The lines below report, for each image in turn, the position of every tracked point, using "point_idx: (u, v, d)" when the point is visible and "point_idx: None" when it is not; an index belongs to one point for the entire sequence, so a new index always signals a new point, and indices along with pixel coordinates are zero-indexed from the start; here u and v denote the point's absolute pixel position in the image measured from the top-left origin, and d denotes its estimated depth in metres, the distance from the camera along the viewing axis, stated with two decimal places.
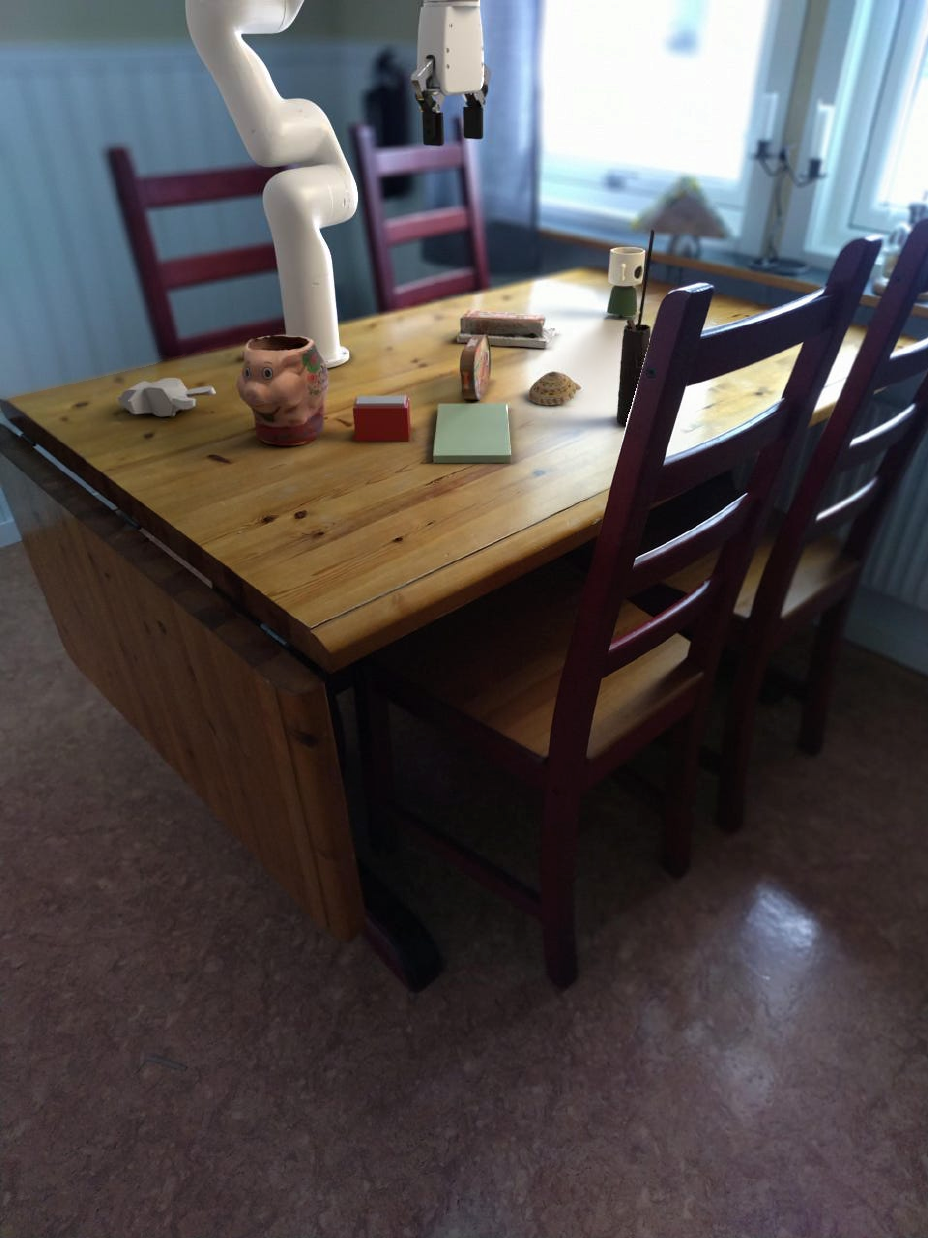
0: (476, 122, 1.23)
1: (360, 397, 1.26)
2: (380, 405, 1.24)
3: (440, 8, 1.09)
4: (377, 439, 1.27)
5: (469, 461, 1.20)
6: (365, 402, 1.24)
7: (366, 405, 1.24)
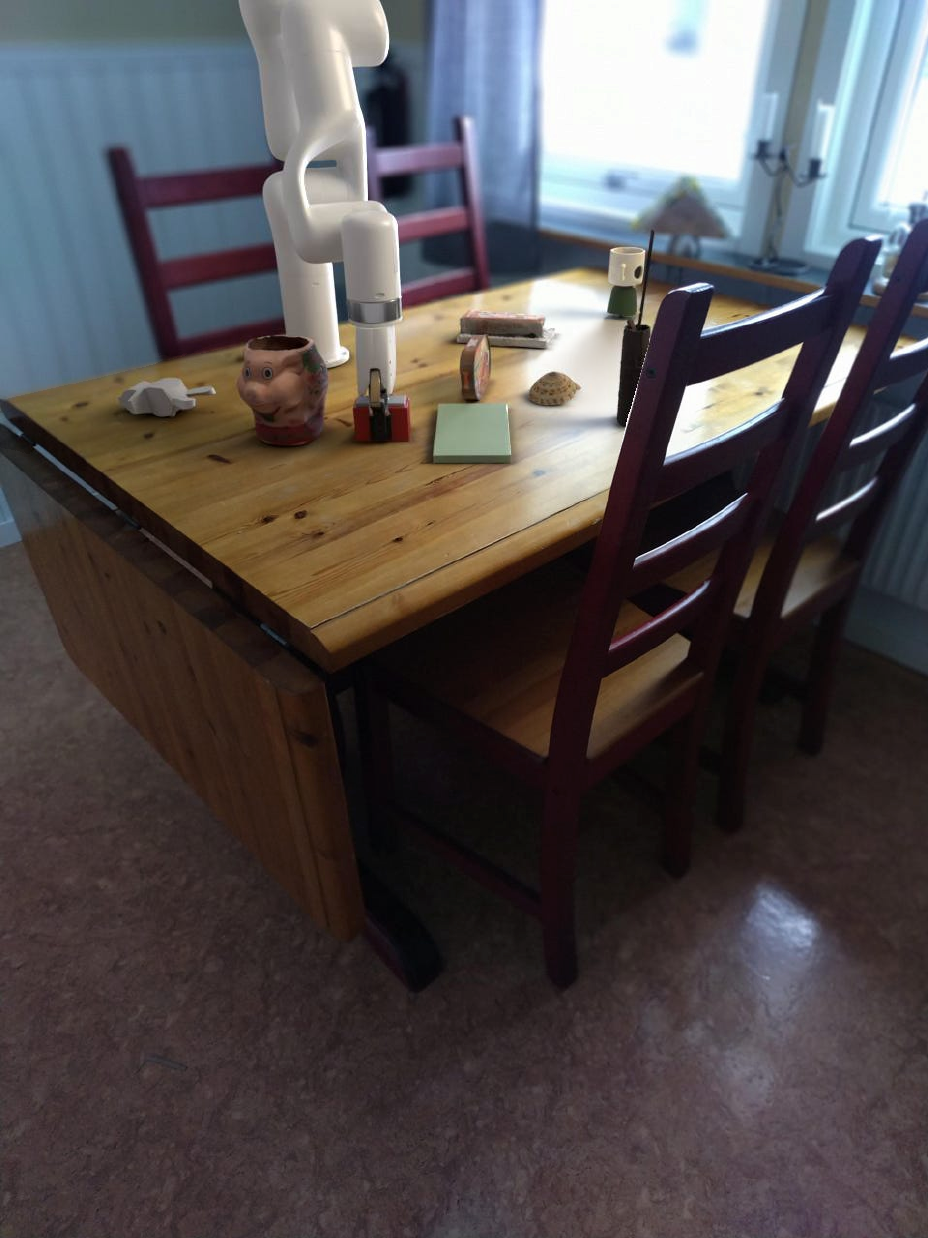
0: None
1: (360, 397, 1.26)
2: None
3: (381, 330, 1.16)
4: None
5: (469, 461, 1.20)
6: (365, 402, 1.24)
7: (366, 405, 1.24)
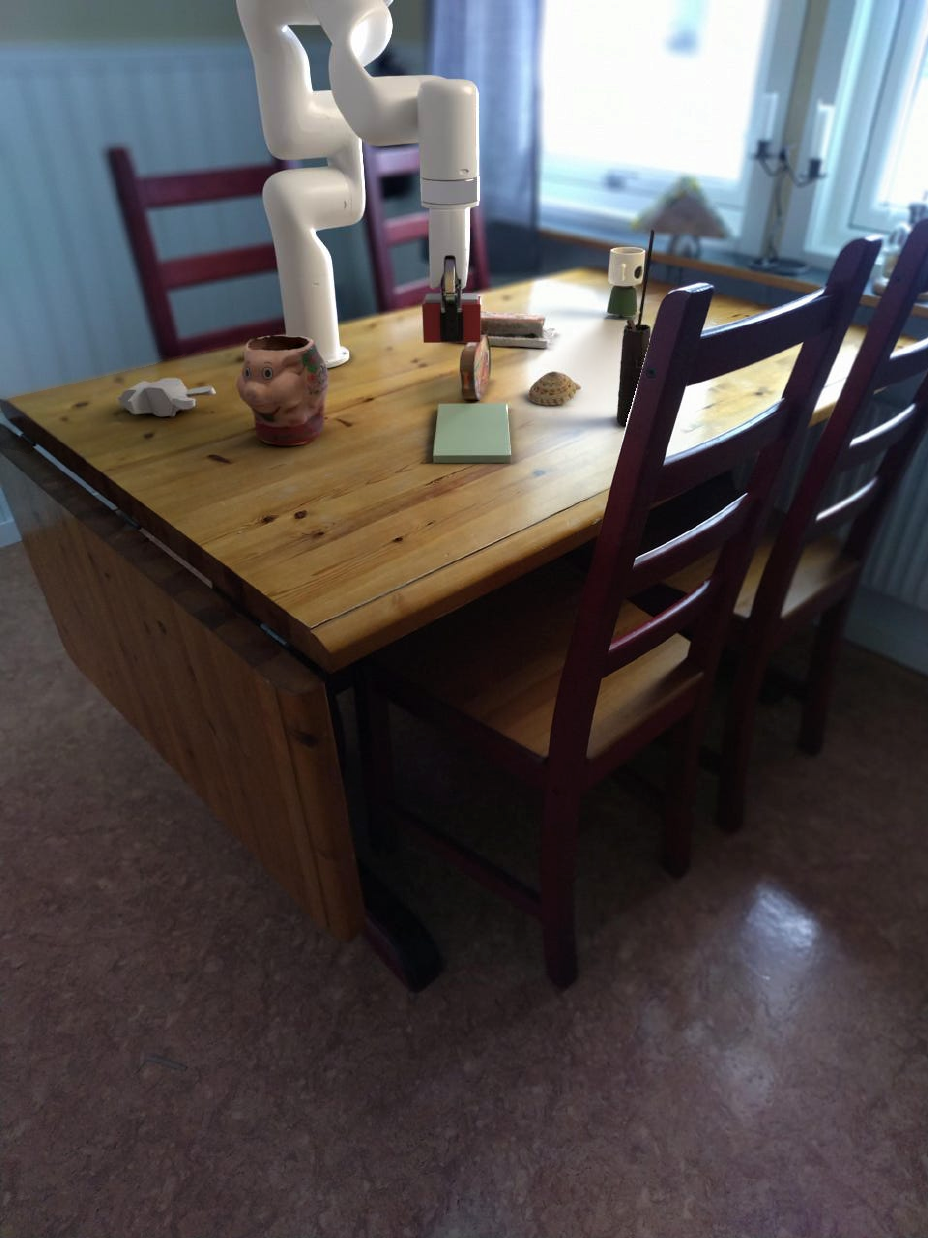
0: None
1: (429, 294, 1.18)
2: None
3: (458, 211, 1.07)
4: None
5: (469, 461, 1.20)
6: (436, 299, 1.16)
7: (436, 301, 1.16)
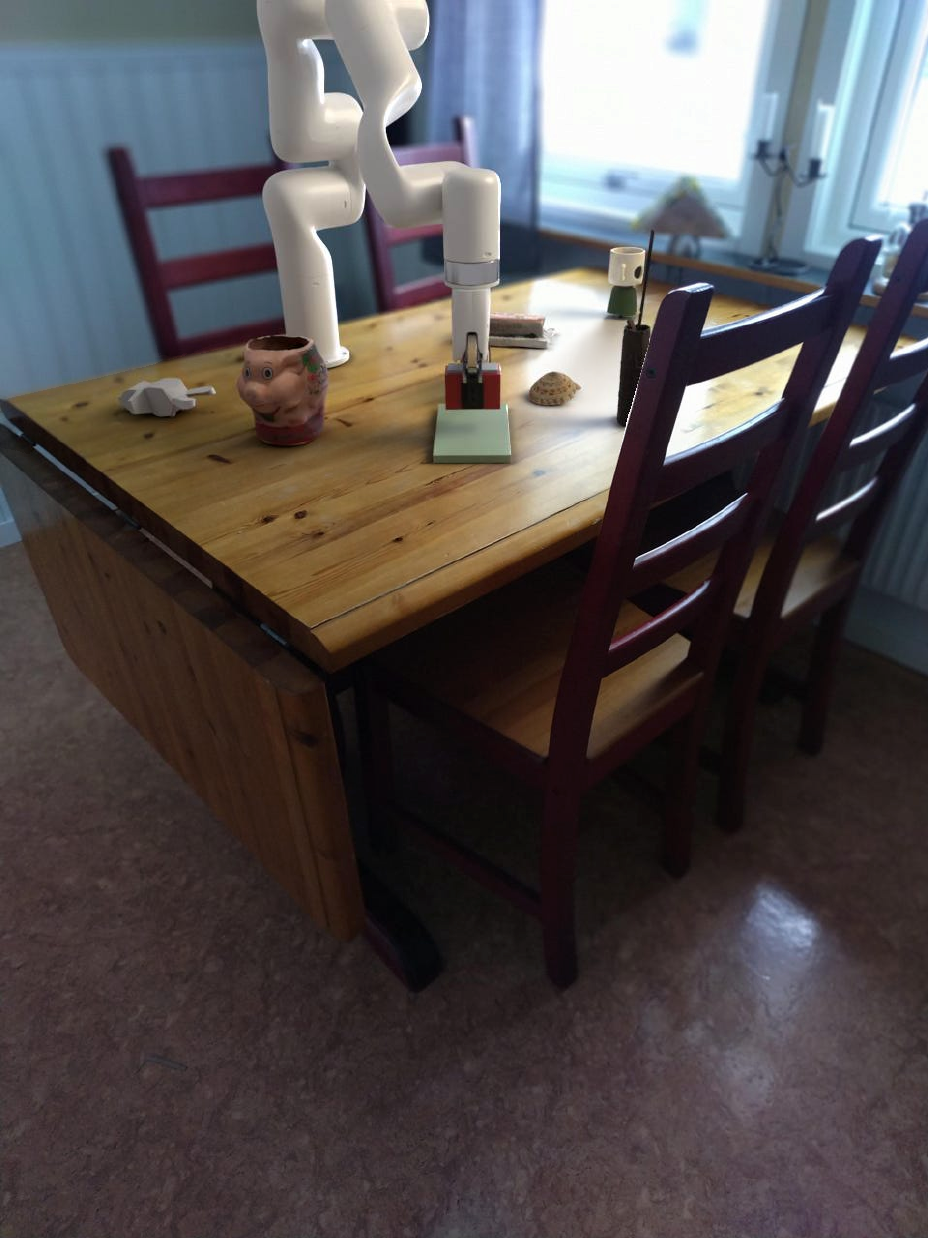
0: None
1: (451, 364, 1.23)
2: None
3: (480, 292, 1.12)
4: None
5: (469, 461, 1.20)
6: (457, 369, 1.21)
7: (458, 372, 1.21)
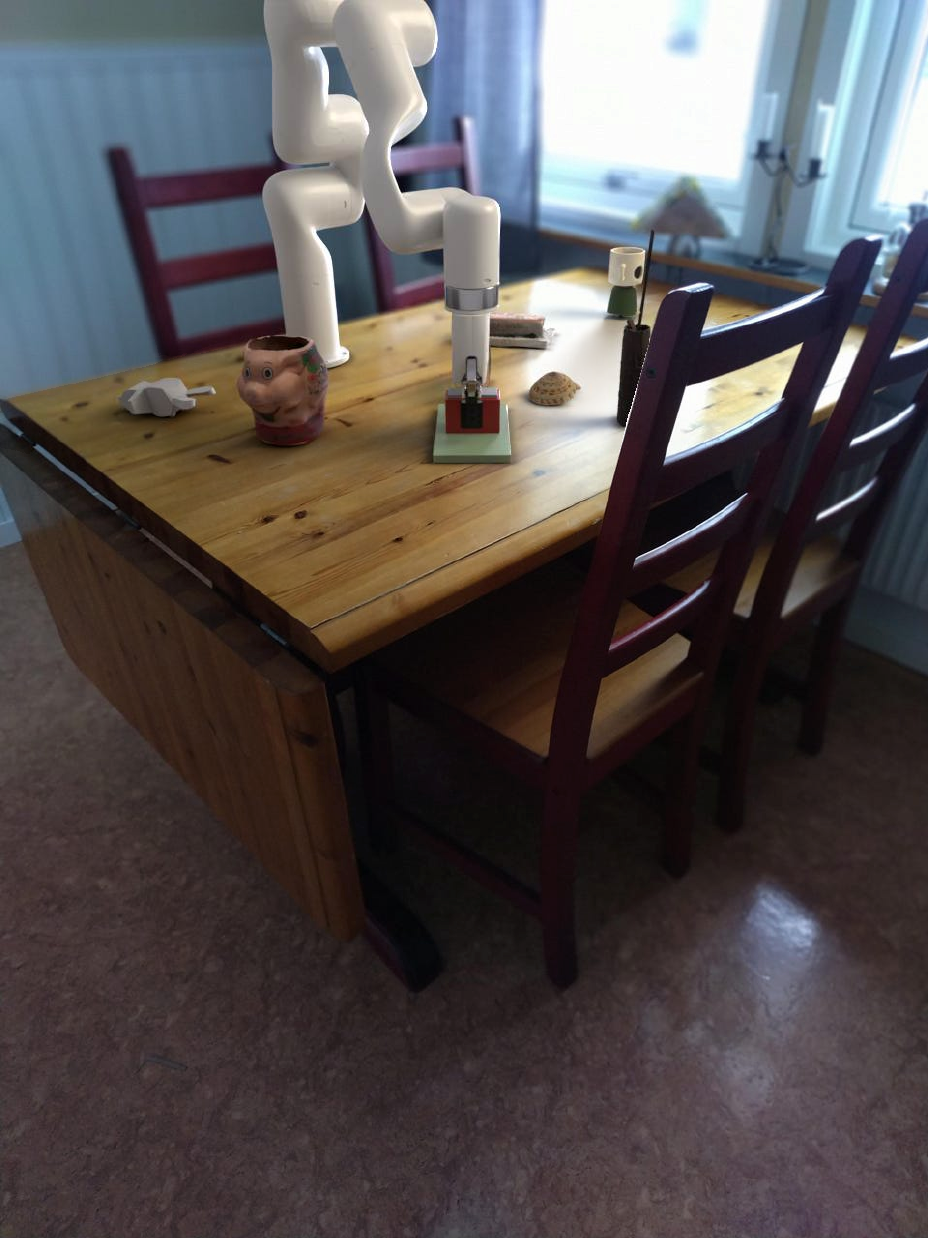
0: None
1: (451, 389, 1.25)
2: None
3: (480, 317, 1.14)
4: (468, 431, 1.26)
5: (469, 461, 1.20)
6: (458, 394, 1.23)
7: (458, 397, 1.23)
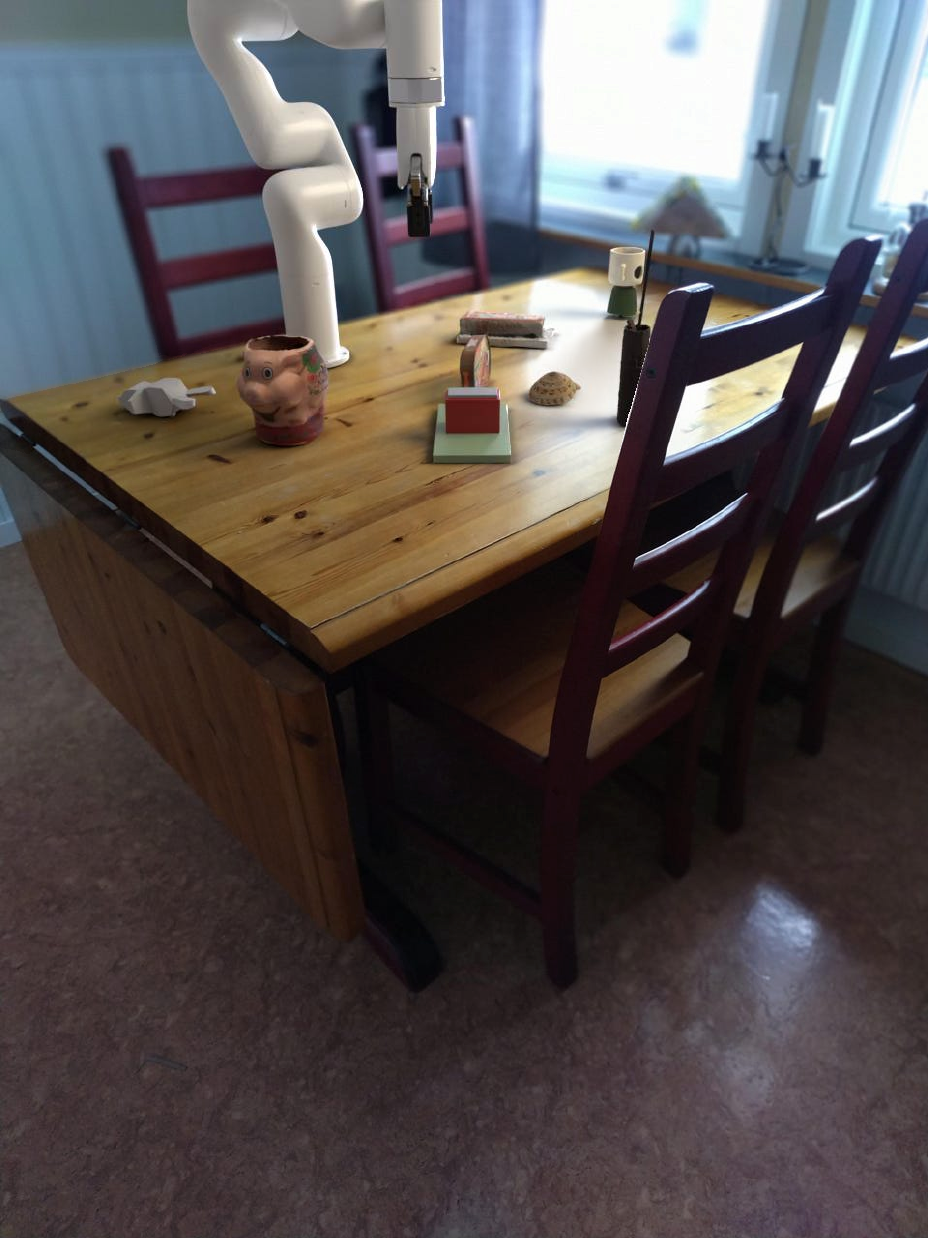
0: None
1: (451, 389, 1.25)
2: (472, 397, 1.23)
3: (424, 109, 1.13)
4: (468, 431, 1.26)
5: (469, 461, 1.20)
6: (458, 394, 1.23)
7: (458, 397, 1.23)
